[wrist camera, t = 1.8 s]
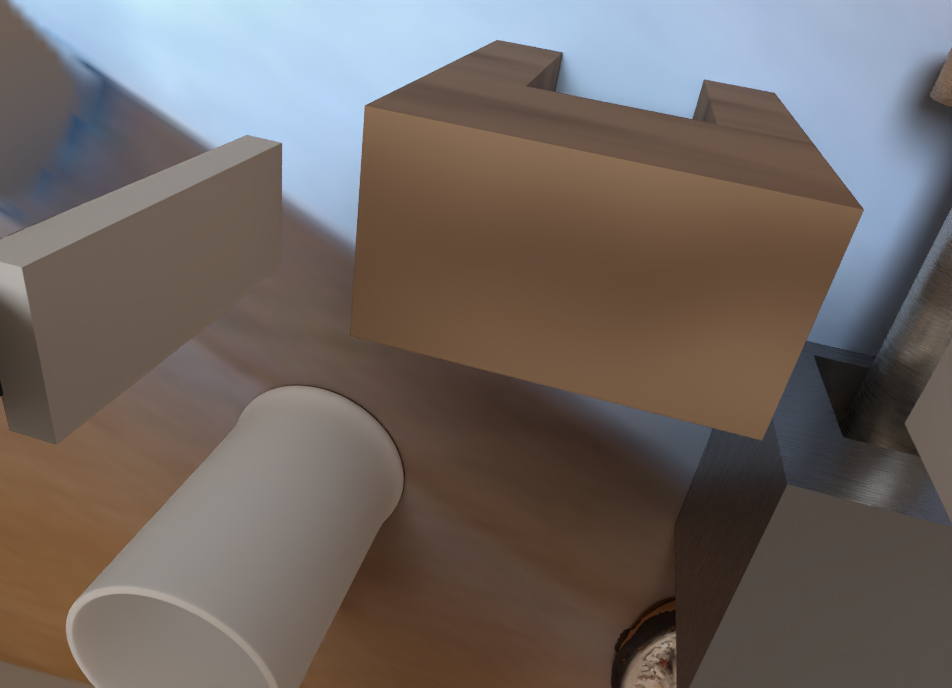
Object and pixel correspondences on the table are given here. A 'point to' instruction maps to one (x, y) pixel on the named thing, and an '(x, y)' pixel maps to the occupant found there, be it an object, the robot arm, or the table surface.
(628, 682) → the cream tart
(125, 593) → the mug
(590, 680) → the table surface
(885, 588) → the block
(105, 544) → the table surface
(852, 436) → the shaft
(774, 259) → the spacer
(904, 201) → the table surface
